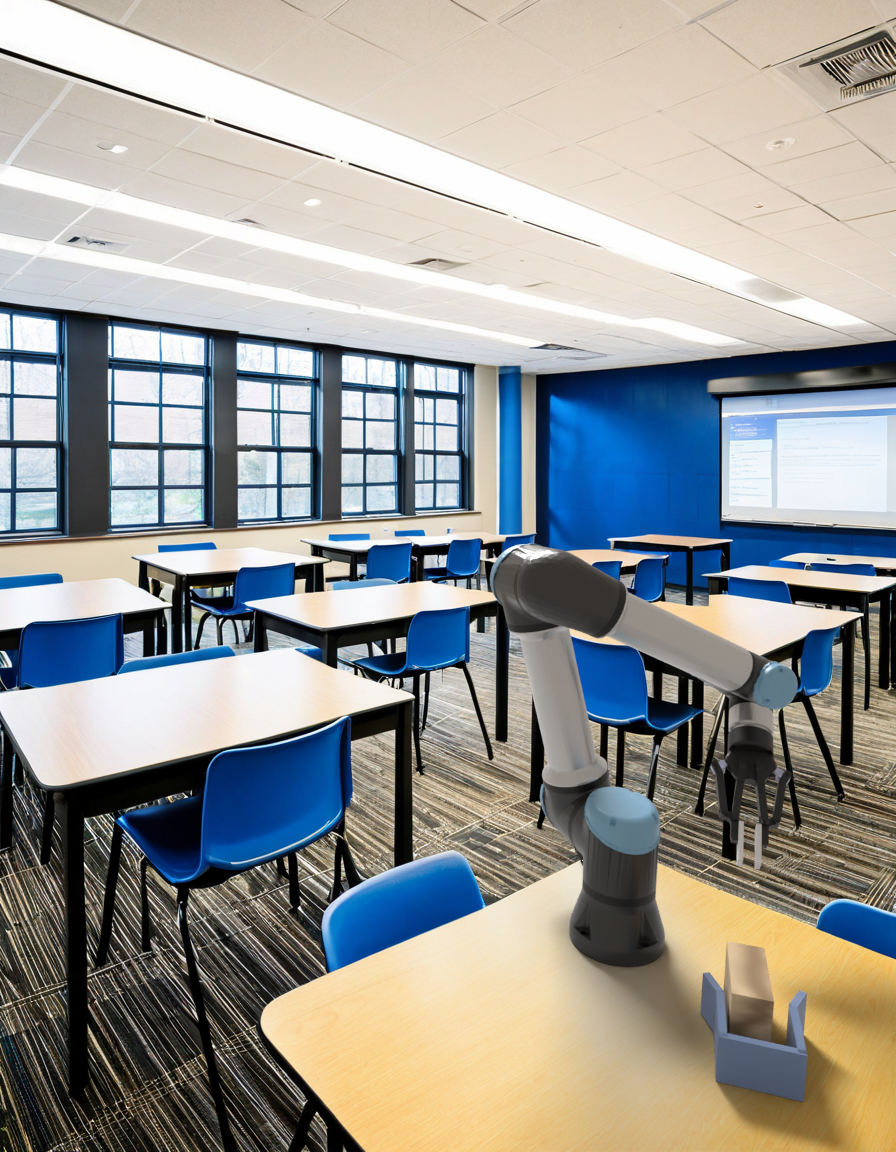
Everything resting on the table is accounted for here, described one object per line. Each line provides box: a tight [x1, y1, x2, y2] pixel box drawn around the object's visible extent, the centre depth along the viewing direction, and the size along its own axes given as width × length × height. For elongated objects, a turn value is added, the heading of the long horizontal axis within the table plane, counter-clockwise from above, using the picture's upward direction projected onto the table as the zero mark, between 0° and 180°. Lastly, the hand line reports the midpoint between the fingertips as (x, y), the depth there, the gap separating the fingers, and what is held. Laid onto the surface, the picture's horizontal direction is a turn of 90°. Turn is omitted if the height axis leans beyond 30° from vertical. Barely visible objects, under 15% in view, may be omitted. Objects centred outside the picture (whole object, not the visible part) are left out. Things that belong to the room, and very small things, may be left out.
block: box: [722, 940, 775, 1043], centre depth 104 cm, size 5×12×9 cm, turn 163°
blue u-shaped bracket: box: [699, 971, 808, 1103], centre depth 99 cm, size 13×13×6 cm
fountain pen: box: [573, 846, 583, 864], centre depth 152 cm, size 14×1×2 cm, turn 3°
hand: (748, 864), depth 123 cm, fingers open, 2 cm apart
